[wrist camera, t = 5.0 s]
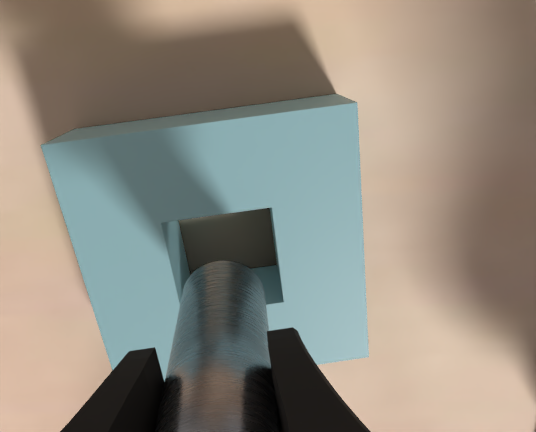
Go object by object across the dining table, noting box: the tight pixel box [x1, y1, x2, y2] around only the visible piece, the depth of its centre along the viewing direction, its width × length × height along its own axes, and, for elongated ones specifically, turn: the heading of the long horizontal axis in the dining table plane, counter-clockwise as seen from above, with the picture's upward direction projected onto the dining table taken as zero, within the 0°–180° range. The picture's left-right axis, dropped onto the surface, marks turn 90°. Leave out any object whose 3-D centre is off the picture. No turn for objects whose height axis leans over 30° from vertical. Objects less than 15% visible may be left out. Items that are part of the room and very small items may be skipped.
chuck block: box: [41, 94, 369, 382], centre depth 17 cm, size 10×10×3 cm
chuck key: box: [155, 261, 281, 432], centre depth 9 cm, size 3×3×10 cm
